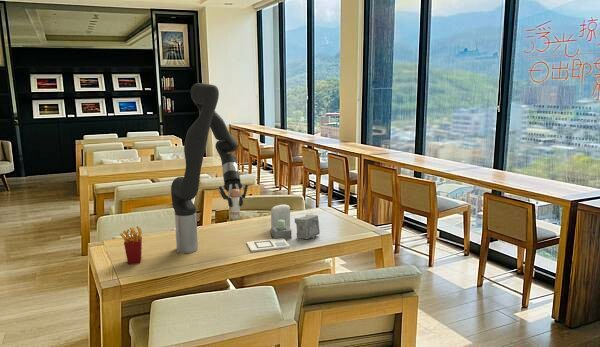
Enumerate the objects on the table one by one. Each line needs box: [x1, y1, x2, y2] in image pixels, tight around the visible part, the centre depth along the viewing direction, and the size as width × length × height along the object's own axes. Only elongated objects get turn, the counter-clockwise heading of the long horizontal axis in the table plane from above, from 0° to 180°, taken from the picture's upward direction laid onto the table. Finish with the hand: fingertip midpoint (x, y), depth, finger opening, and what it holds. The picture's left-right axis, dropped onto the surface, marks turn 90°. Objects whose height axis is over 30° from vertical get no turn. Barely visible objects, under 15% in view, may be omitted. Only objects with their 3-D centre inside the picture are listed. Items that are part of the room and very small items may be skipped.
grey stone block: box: [294, 214, 321, 240], centre depth 228 cm, size 10×8×10 cm
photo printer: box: [270, 204, 291, 228], centre depth 240 cm, size 10×4×12 cm, turn 123°
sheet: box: [246, 238, 291, 253], centre depth 217 cm, size 18×11×1 cm, turn 107°
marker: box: [230, 189, 241, 220], centre depth 212 cm, size 4×4×13 cm
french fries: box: [119, 225, 143, 265], centre depth 198 cm, size 9×8×15 cm
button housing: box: [270, 225, 292, 240], centre depth 229 cm, size 8×8×4 cm
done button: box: [278, 220, 285, 230], centre depth 228 cm, size 3×3×6 cm
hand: (236, 205), depth 211 cm, fingers closed on marker, 3 cm apart
